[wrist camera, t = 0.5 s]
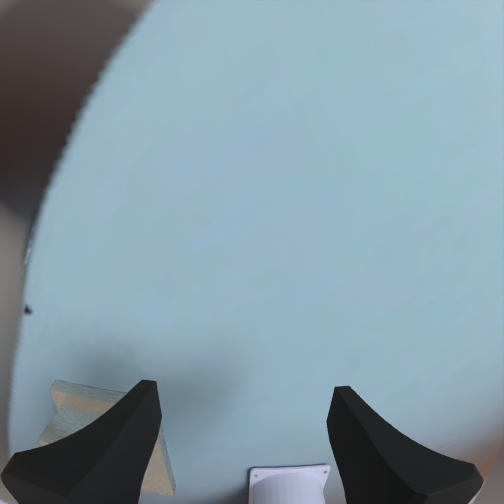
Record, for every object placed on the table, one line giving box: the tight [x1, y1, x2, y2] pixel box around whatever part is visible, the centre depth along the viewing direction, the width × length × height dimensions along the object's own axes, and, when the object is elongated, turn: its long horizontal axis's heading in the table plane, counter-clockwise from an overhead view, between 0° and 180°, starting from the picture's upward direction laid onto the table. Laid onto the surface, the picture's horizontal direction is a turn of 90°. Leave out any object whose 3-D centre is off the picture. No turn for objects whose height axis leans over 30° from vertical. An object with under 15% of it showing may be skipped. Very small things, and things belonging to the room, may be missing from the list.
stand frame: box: [39, 380, 176, 495], centre depth 22 cm, size 14×10×7 cm
